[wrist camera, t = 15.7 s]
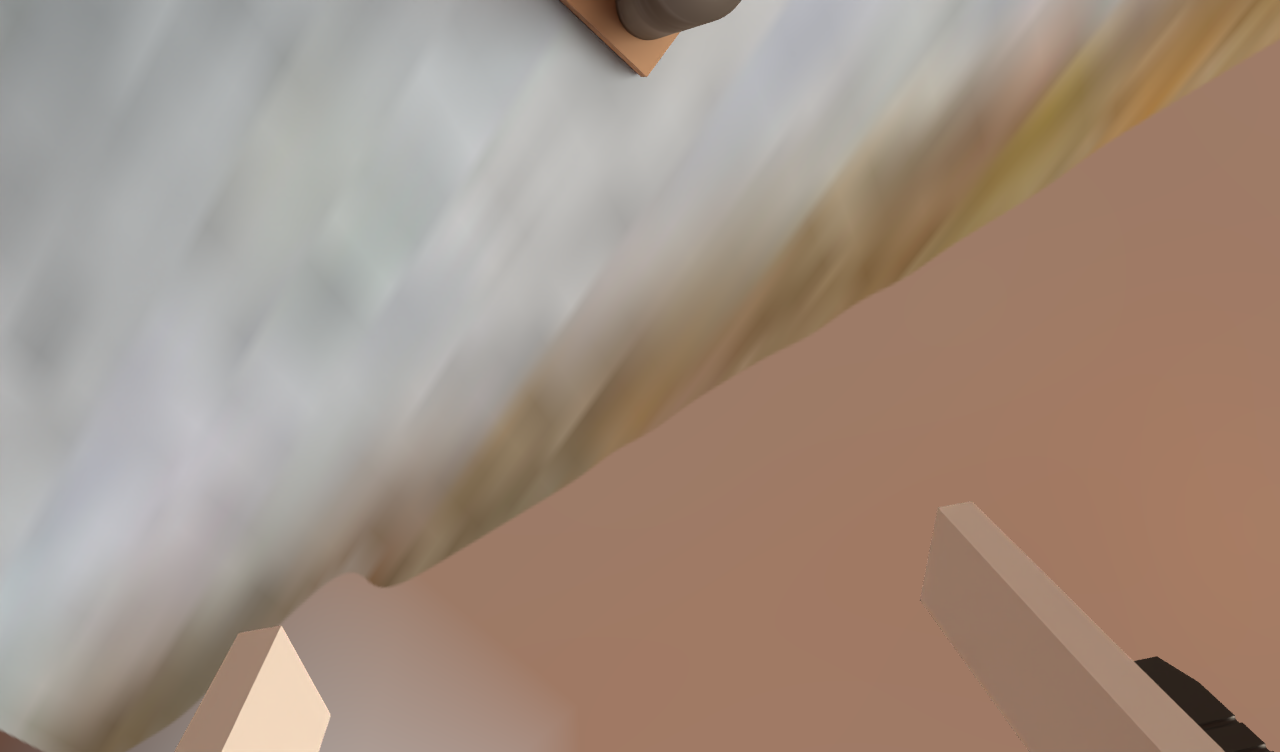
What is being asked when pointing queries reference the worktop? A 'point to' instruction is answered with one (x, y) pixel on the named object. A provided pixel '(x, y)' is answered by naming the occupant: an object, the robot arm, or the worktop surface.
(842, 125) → the worktop surface
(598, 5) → the brown wooden frame
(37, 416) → the worktop surface
